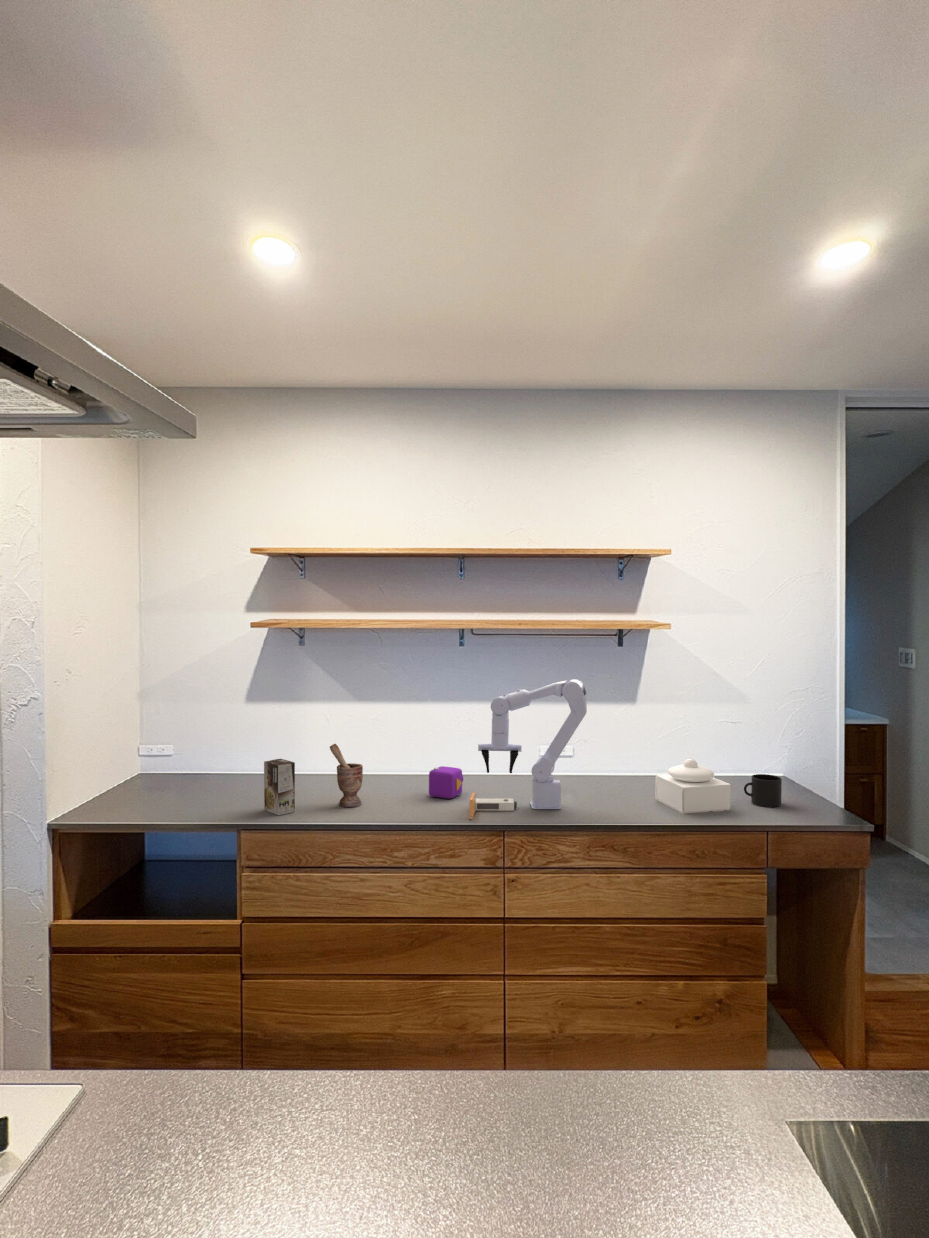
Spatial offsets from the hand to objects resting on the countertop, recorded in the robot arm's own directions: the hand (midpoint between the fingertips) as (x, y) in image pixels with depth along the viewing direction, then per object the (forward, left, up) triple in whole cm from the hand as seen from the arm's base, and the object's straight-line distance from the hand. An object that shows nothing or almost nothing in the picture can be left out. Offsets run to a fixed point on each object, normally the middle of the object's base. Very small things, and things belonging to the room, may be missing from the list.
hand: (499, 772), depth 247 cm
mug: (-89, 0, -11) cm, 90 cm away
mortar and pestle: (+52, +2, -11) cm, 53 cm away
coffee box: (+72, +10, -11) cm, 73 cm away
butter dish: (-65, +2, -11) cm, 66 cm away
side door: (+9, +14, -10) cm, 20 cm away
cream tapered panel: (+2, +7, -10) cm, 12 cm away
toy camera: (+18, -11, -11) cm, 23 cm away
